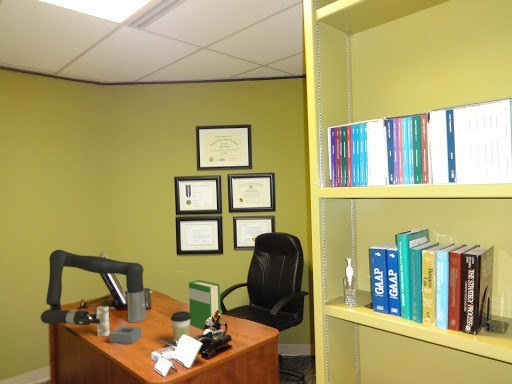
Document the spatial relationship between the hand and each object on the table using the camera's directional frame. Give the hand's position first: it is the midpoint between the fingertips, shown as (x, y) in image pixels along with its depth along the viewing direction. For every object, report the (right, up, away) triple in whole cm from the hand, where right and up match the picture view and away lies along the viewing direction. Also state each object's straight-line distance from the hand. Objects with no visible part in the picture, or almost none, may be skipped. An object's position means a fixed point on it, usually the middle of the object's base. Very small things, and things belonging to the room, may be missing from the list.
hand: (104, 318), depth 201 cm
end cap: (+14, -9, -7) cm, 18 cm away
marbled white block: (-1, -9, 0) cm, 9 cm away
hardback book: (+52, -8, +9) cm, 54 cm away
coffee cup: (+44, -8, -15) cm, 47 cm away
